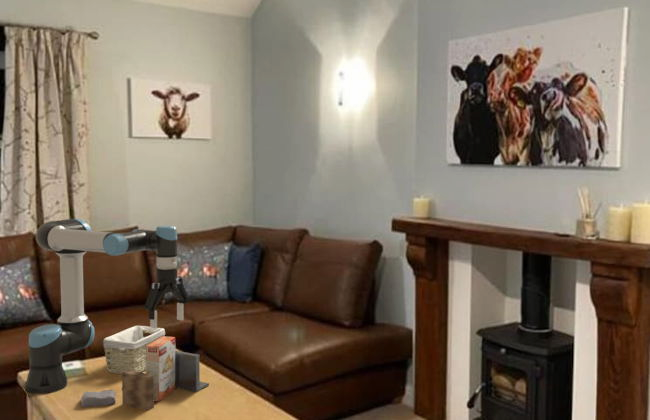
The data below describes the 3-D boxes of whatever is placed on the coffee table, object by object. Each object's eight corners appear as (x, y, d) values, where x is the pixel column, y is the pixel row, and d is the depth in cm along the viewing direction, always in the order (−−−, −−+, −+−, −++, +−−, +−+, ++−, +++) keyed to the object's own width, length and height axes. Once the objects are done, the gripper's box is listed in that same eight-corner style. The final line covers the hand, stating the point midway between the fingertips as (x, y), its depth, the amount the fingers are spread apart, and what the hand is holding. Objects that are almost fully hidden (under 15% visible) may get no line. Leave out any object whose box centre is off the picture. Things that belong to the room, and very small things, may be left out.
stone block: (83, 403, 238) (80, 408, 229) (83, 390, 239) (80, 394, 229) (116, 401, 241) (115, 406, 232) (116, 388, 242) (115, 392, 232)
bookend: (167, 385, 252) (167, 351, 251) (180, 379, 259) (180, 345, 258) (196, 391, 246) (196, 356, 244) (209, 385, 253) (208, 350, 252)
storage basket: (134, 377, 261) (134, 342, 260) (101, 373, 266) (101, 338, 265) (167, 360, 284) (166, 328, 282) (136, 356, 289) (135, 324, 288)
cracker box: (160, 402, 235) (159, 346, 233) (145, 400, 236) (144, 345, 235) (176, 389, 249) (176, 336, 247) (162, 387, 250) (161, 335, 248)
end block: (122, 404, 233) (122, 372, 232) (128, 401, 235) (128, 369, 234) (147, 410, 227) (147, 377, 226) (153, 407, 230) (153, 375, 229)
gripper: (148, 273, 224) (149, 332, 226) (197, 264, 245) (197, 318, 247) (133, 271, 228) (134, 329, 230) (183, 262, 249) (183, 315, 251)
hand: (167, 323), depth 238 cm, fingers open, 13 cm apart
